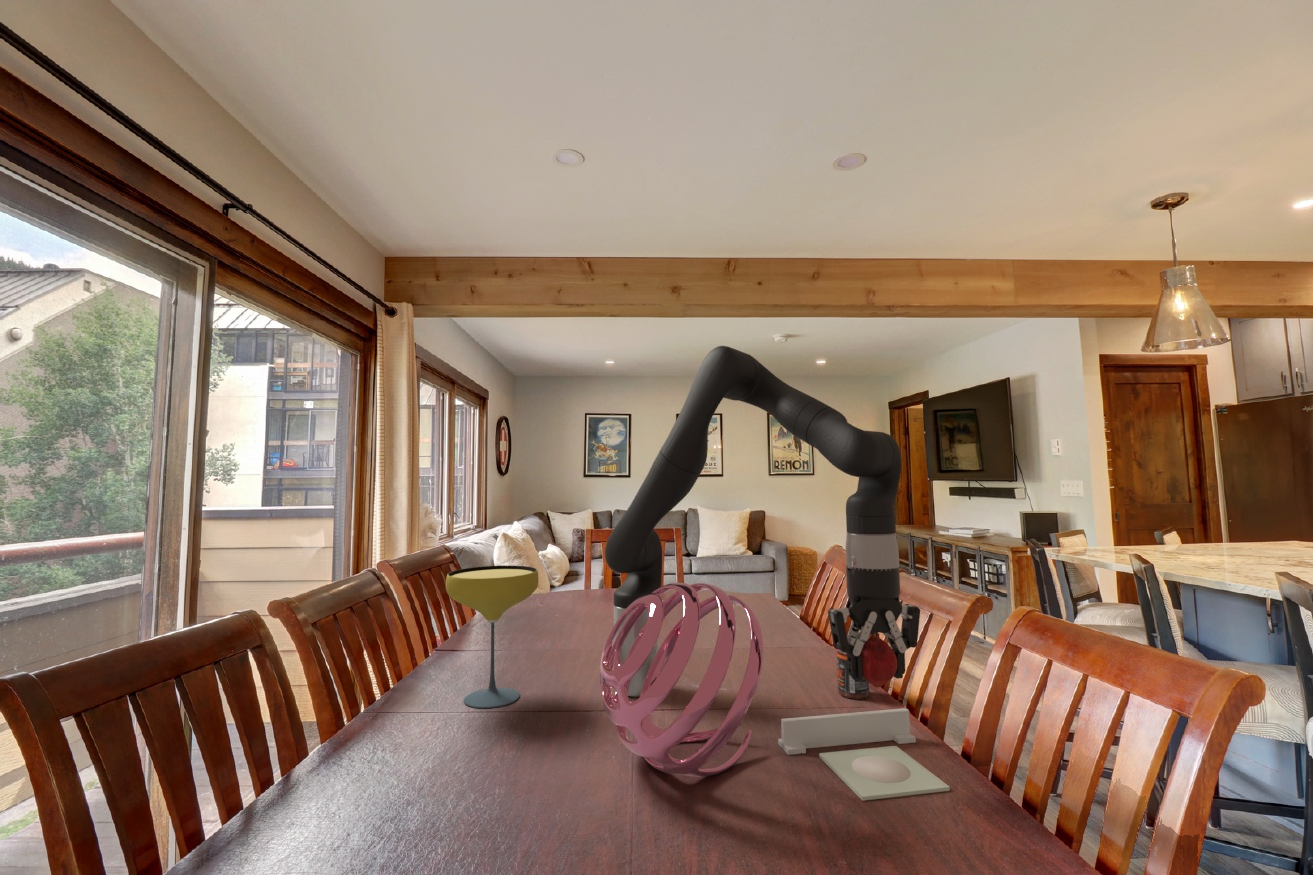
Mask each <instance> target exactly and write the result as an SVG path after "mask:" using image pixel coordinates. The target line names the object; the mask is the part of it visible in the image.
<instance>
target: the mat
mask: <svg viewBox="0 0 1313 875" xmlns="http://www.w3.org/2000/svg"><path fill="white" fill-rule="evenodd" d="M818 756H819V757H818V758H820V760H822V761H823V762H824V763H825V764H826V765H827V766H828V767H829V768H830V769H831V771H833V772H834V773H835V774H836V775H837V776H838V777H839V778H840V779H841V781H842V782H843V783H845V785H847V787H848V788H849V789H850V790H852V792H853V793H854V794H855V795H857V797H858V798H859V799H860V800H861V801H862V802H863V801H873V800H879V799H880V800H881V799H889V798H899V797H907V796H915V795H923V794H932V793H933V794H934V793H941V792H943V793H944V792H950V791H951V788H950V786H949V785H948V784H946V783H945V782H944V781H943V780H941V779H940V778H938V777H937V776H936V775H935V774H933V773H932V772H931V771H930V770H928V769H927V768H925V767H924V766H923V764H920V763H919V762H918V761H916V760H915V759H914V758H913V757H911V755H909V754H907V753H906V752H905V751H903V750H902V749H901V748H899V747H898V746H896V745H890V746H879V747H869V748H858V749H850V750H849V749H848V750H840V751H839V750H837V751H829V752H828V751H827V752H820V753H818Z"/></svg>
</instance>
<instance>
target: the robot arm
mask: <svg viewBox="0 0 1313 875" xmlns="http://www.w3.org/2000/svg"><path fill="white" fill-rule="evenodd" d="M724 399H727V400H731V401H737V402H738V401H739V402H742V403H745V404H749V405H751V406H754V407H756V408H759V409H761V410H763V411H765V412H766V413H768V414H769V415H771V416H772V417H773V418H774V419H775V421H777V423H779V425H780V426H782V427H783V428H784V429H785V430H787V431H788V432H789V433H790V434H791V435H793V436H795V437H796V438H798V439H799V440H801V441H803V442H804V443H806V444H808V445H809V446H810V447H813V448H815V449H816V450H817V451H818V452H819V454H821V455H822V456H823V457H824V459H826V460H827V461H828V462H829V464H831V465H832V466H834V468H837V469H838V470H839V471H841V472H843V473H844V474H846V475H849V476H852V477H855V478H858V482H857V487H856V488H857V489H856V492H855V493H853V494H851V495H850V496H849V497H848V498H847V499H846V503H845V520H846V539H845V570H846V571H845V572H846V573H845V575H846V576H845V577H846V593H847V597H848V598H847V602H846V605H845V607H844V606H843V607H841V608H833V607H831V608H829V609H828V610H827V615H828V616H827V617H828V620H829V626H830V632H831V637H832V643H833V646H834V648H835V649H836V650H837V649H839V650H841V651H842V652H844V653H847V664H848V665H847V666H848V674H849V675H850V676H851V677H852V679H853V680H855V681H856V682H862V681H863V672H862V656H860V653H861V650H862V648H863V645H864V643H865V642H866V641H867V640H868V639H869V638H870V635H872V634H875V633H879V634H883V636H885V638H886V641H887V642H888V643H887V644H888V645H889V646H890V647H891V648H892V650H893V651H894V653H895V655H896V658H897V665H898V666H897V671H896V673H895V674H894V676H893V678H895V679H903V678H904V674H905V673H906V656H905V655H906V651H907V650H908V649H910V648H913V649H914V648H917V646H918V639H919V629H920V628H919V627H920V617H921V609H920V608H919V606H915V605H913V604H910V603H905V604H902V603H901V600H900V595H901V579H900V577H901V576H900V556H899V553H900V552H899V545H898V539H897V530H896V528H897V526H896V522H897V521H896V509H895V503H896V500H897V494H898V491H899V485H900V479H901V472H902V462H903V461H902V453H901V450H900V446H899V444H898V442H897V441H896V439H895V438H894V437H893V436H891V435H890V434H888V433H886V432H883V431H874V430H864V429H861V428H858V427H857V426H854V425H852V424H851V423H849V422H848V420H847V418H846V416H845V415H844V414H843V413H842V412H840V411H838V410H836V409H835V408H833V407H832V406H829V405H828V404H826V403H824V402H823V401H821V400H818V399H817V398H815V397H813V396H811V395H809V394H807V393H805V392H803V391H800V390H799V389H797V388H795V387H793V386H791V385H789V384H788V383H786V382H784V380H782V379H781V378H779V377H777V376H776V375H775V374H773V373H772V372H771V371H770V370H769V369H768V368H766V367H765V366H764V365H763V364H762V363H761V362H760V361H759V360H757V359H756V358H755V357H753V356H752V355H751V354H748V353H746V352H744V351H740V350H739V349H735V348H733V347H730V346H726V345H719V346H716V347H714V348H712V349H711V350H710V351H709V352H708V353H707V354H706V355H705V357H704V358H703V360H702V361H701V364H700V366H699V367H698V370H697V372H696V374H695V377H694V380H693V382H692V384H691V387H690V388H689V392H688V394H687V397H686V398H685V401H684V404H683V406H682V408H681V409H680V411H679V414H678V416H677V417H676V418H677V419H676V420H675V422H674V424H673V427H672V428H671V430H670V432H669V434H668V435H667V438H666V439H665V441H664V443H663V444H662V446H661V447H660V449H659V451H658V454H657V455H656V457H655V459H654V460H653V462H652V464H651V467H650V468H649V471H648V473H647V475H645V476H646V477H645V478H644V480H643V481H642V483H641V486H640V487H639V489H638V491H637V493H636V495H635V496H634V498H633V499H632V501H631V503H630V505H629V506H628V508H627V510H626V511H625V512H624V514H623V515H622V516H621V518H620V520H619V521H618V522H617V524H616V525H615V526H614V528H613V529H612V530H611V533H610V535H609V536H608V538H607V541H606V543H605V547H604V548H605V549H604V557H605V558H604V559H605V562H606V565H607V566H608V568H609V569H610V570H611V571H612V572H615V573H618V574H626V577H625V579H624V581H623V583H622V584H621V585H620V586H619V587H617V589H615V591H614V593H613V626H614V625H615V623H616V621H617V620H618V618H619V617H620V616H621V614H622V613H623V612H624V611H625V610H626V608H627V607H628V606H629V605H630V604H632V603H633V602H634V601H635V600H637V599H638V598H640V597H641V596H643V595H646V594H649V593H652V592H653V591H655V590H656V589H658V588H660V587H662V583H663V582H662V578H663V547H662V546H663V545H662V541H661V538H660V536H659V534H658V532H657V531H656V530H655V527H656V526H657V525H658V523H659V522H660V521H661V520H662V519H663V518H665V516H666V515H667V514H668V513H670V512H671V511H672V510H673V509H674V508H675V507H676V506H677V505H678V504H679V503H681V502H682V501H683V499H684V498H685V497H686V496H687V495H688V494H689V493H690V491H691V490H692V489H693V488H694V486H695V485H696V482H697V480H698V479H699V477H700V475H701V474H702V472H703V469H704V468H705V465H706V463H707V458H708V448H709V446H708V445H709V444H708V443H709V437H708V436H709V428H710V423H711V421H712V418H713V416H714V414H715V413H716V410H717V409H718V407H719V405H720V404H721V403H722V401H723V400H724ZM634 610H635V609H634ZM634 610H633V611H634ZM633 611H632V612H633ZM632 612H631V613H632ZM631 613H630V614H629V615H628V616H627V618H626V619H625V620H624V622H623V623H622V625H621V626H620V628H619V630H618V631H617V633H616V635H615V637H614V639H613V642H612V645H613V644H614V642H615V640H616V638H617V636H618V634H619V632H620V630H621V628H622V627H623V625H624V624H625V622H626V620H627V619H628V618H629V616H630V615H631ZM848 617H849V618H850V620H851V621H852V622H851V624H850V627H849V629H848V633H847V630H846V623H847V622H848ZM899 617H901V618H902V619H901V629H900V627H899V625H898V623H897V620H898V619H899ZM647 619H648V608H647V609H646V610H645V611H644V612H643V613H642V615H641V616H640V617H639V618H638V620H637V621H636V623H635V624H634V626H633V627H632V629H631V630H630V632H629V634H628V636H627V637H626V639H625V641H624V643H623V645H622V647H621V649H620V652H619V653H620V661H621V664H623V663H624V662H625V660H626V658H627V656H628V654H629V651H630V649H631V647H632V645H633V643H634V642H635V640H636V638H637V636H638V635H639V633H640V631H641V630H642V628H643V627H644V625H645V624H646V622H647ZM847 635H849V637H848V639H847ZM658 650H659V637H658V638H657V641H656V643H655V645H654V647H653V649H652V651H651V653H650V654H649V656H648V658H647V659H646V661H645V662H644V664H643V665H642V666H641V668H640V669H639V670H638V671H637V673H636V674H635V675H634V676H633V677H632V678H631V681H630V684H629V688H628V692H627V696H628V697H640V694H641V691H642V687H643V684H644V681H645V678H646V675H647V673H648V670H649V668H650V666H651V664H652V662H653V659H654V657H655V656H656V654H657V652H658ZM613 691H614V693H616V690H615V688H613Z"/></svg>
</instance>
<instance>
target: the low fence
mask: <svg viewBox="0 0 1313 875" xmlns="http://www.w3.org/2000/svg"><path fill="white" fill-rule="evenodd" d="M910 721H911V720H910V710H909V709H908V708H907V707H903V708H894V709H893V708H891V709H883V710H881V709H880V710H878V709H877V710H869V711H859V712H855V711H854V712H846V713H835V714H822V715H811V716H799V717H789V718H781V720H780V725H781V726H780V728H781V731H780V732H781V738H777V742H778V745H779V747H781V749H782V750H783V751H784V752H785V753H786V755H787V756H790V755H800V754H801V753H802V754H803V755H804V754H806V753H807V749H815V748H816V749H817V748H827V747H836V746H846V745H855V744H857V745H859V744H867V743H876V742H878V743H879V742H885V741H886V742H888V741H889V742H890V741H894V742H895V743H897V744H899V745H901V744H902V745H904V744H911V743H913V744H914V743H916V740H917V739H916V738H917V737H916V736H915V735H913V734H912V733H911V724H910V723H911V722H910Z"/></svg>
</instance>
